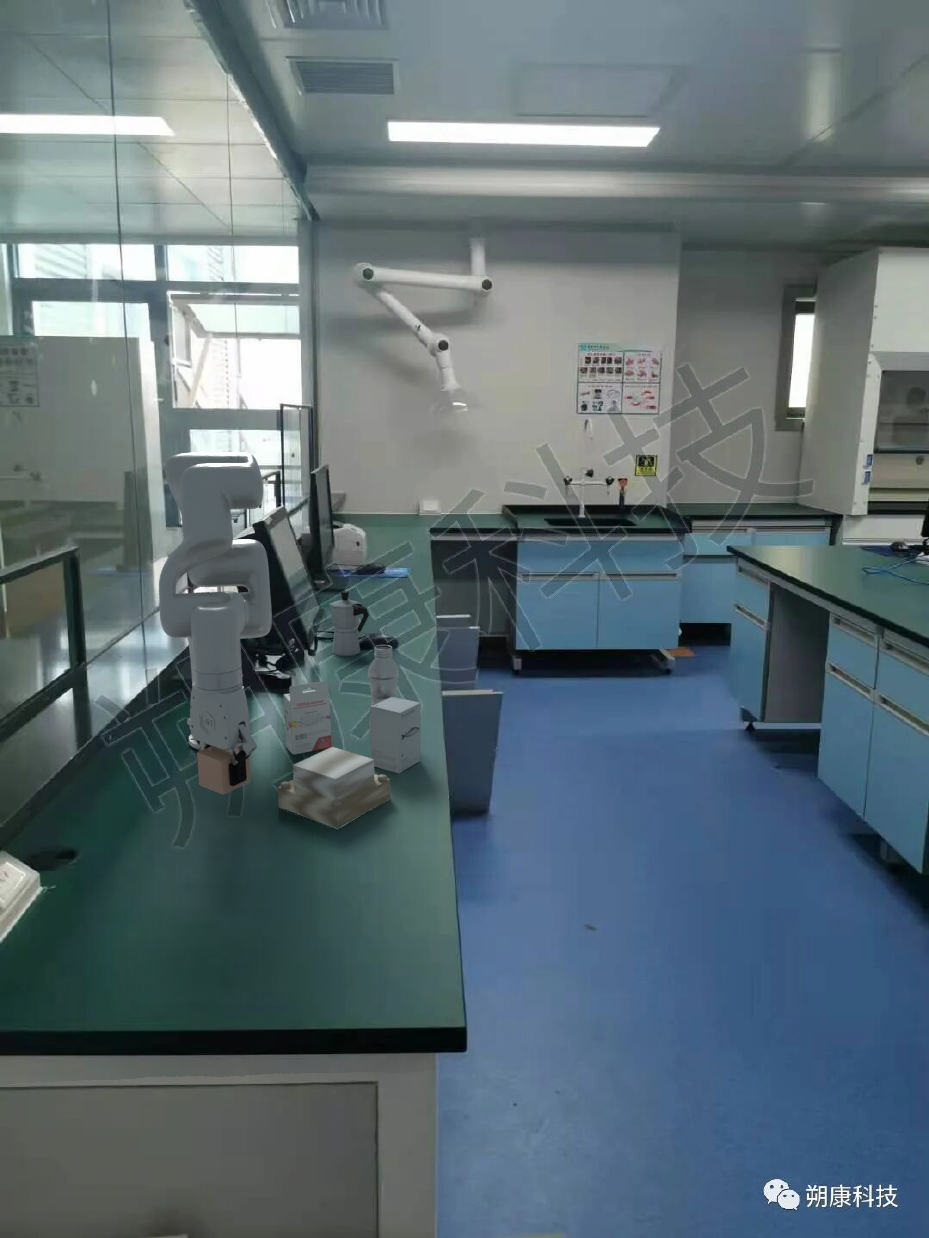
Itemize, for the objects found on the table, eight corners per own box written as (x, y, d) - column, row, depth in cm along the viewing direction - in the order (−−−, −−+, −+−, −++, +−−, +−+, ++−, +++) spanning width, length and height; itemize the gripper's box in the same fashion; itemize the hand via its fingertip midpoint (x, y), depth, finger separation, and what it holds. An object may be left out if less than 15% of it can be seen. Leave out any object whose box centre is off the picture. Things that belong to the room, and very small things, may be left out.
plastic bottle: (395, 743, 177) (394, 652, 172) (365, 740, 178) (363, 650, 173) (403, 732, 183) (403, 644, 178) (374, 729, 184) (372, 642, 180)
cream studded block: (278, 808, 148) (276, 766, 146) (332, 780, 159) (331, 740, 157) (337, 830, 140) (336, 786, 138) (390, 799, 151) (389, 758, 149)
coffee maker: (319, 651, 243) (317, 591, 239) (340, 645, 250) (339, 586, 246) (358, 660, 235) (356, 598, 231) (378, 653, 242) (377, 592, 238)
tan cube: (199, 785, 142) (196, 752, 140) (227, 772, 146) (225, 740, 145) (223, 794, 138) (221, 761, 137) (250, 781, 143) (249, 749, 142)
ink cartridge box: (324, 740, 178) (322, 674, 175) (332, 748, 174) (330, 680, 171) (285, 746, 174) (282, 679, 171) (291, 755, 170) (288, 686, 167)
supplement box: (399, 774, 162) (399, 713, 159) (369, 765, 166) (368, 705, 163) (421, 761, 168) (421, 702, 165) (392, 753, 172) (391, 695, 169)
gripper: (165, 673, 139) (173, 772, 144) (236, 694, 130) (242, 800, 134) (202, 661, 145) (208, 757, 150) (272, 681, 136) (277, 783, 140)
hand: (224, 776), depth 142 cm, fingers closed on tan cube, 6 cm apart
